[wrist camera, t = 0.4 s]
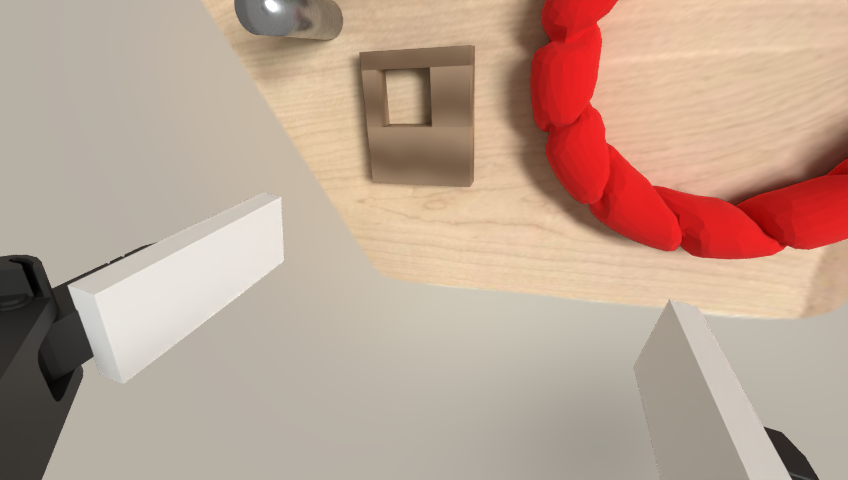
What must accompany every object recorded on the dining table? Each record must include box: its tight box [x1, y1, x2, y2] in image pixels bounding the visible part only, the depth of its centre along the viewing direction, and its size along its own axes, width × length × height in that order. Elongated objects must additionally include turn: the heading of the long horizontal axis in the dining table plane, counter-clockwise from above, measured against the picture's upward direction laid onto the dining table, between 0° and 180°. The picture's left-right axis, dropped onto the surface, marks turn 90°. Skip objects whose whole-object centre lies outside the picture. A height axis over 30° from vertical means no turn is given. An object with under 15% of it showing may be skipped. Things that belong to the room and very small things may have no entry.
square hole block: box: [359, 45, 475, 187], centre depth 37 cm, size 12×10×2 cm
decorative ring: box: [530, 0, 848, 259], centre depth 27 cm, size 7×30×30 cm
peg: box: [234, 0, 343, 40], centre depth 32 cm, size 3×3×10 cm
